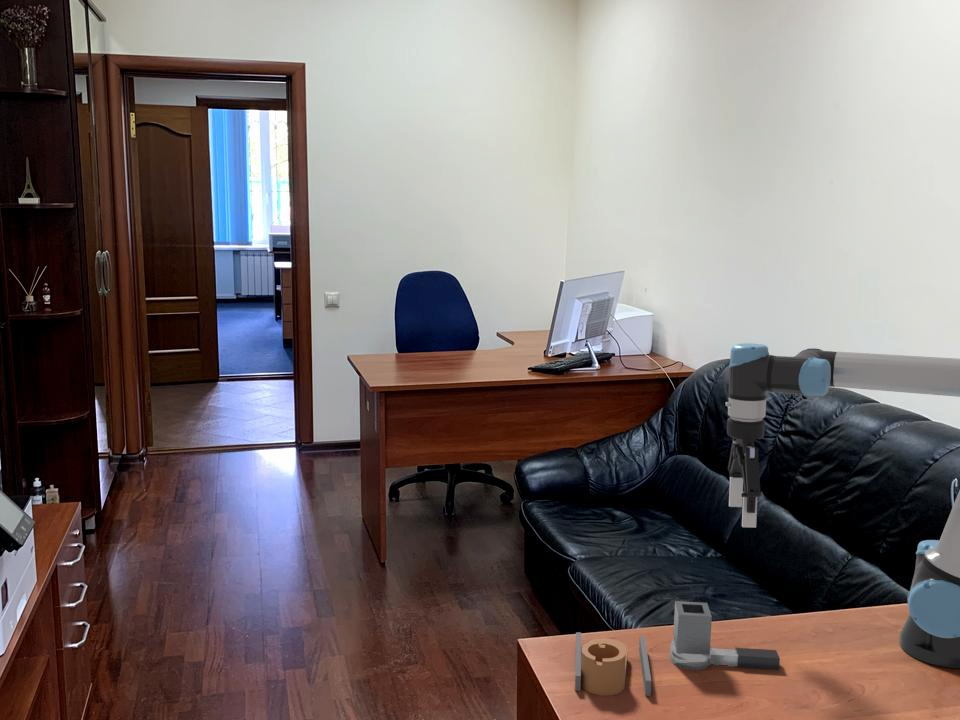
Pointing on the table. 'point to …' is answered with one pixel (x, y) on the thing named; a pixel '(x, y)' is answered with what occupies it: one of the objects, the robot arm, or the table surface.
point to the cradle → (642, 658)
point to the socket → (692, 628)
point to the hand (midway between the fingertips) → (741, 516)
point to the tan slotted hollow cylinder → (603, 666)
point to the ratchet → (727, 658)
